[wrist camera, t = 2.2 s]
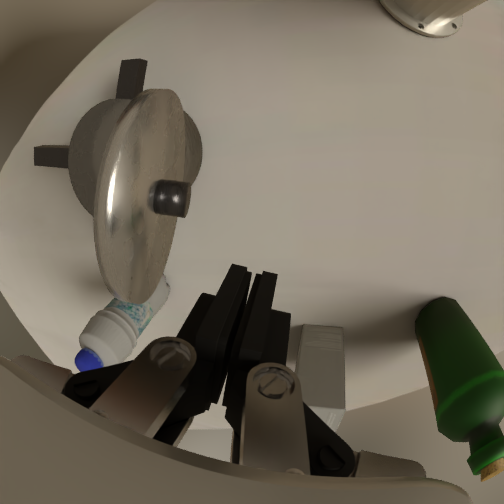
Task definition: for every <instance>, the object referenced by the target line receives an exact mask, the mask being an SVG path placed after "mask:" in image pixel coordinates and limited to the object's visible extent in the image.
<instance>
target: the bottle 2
mask: <svg viewBox="0 0 504 504" xmlns="http://www.w3.org/2000/svg"><path fill="white" fill-rule="evenodd" d="M415 333H416V336H417V340H418V343H419V347H420V350H421V354H422V358H423V361H424V365H425V369H426V373H427V377H428V381H429V386H430V390H431V395H432V400H433V404H434V410H435V415H436V421H437V427H438V431H439V432H440V433H442V434H443V435H445V436H446V437H447V438H449V439H450V440H452V441H453V442H469V445H470V453H471V456H470V457H469V458H468V459H467V462H468V464H469V466H470V468H471V470H472V472H473V475H479V474H481V482H482V481H485V480H488V479H490V478H492V477H494V476H495V475H497V474H499V473H500V472H502V471H503V470H504V435H503V433H502V431H501V429H500V427H499V423H500V422H501V420H502V418H503V417H504V370H503V368H502V367H501V365H500V364H499V362H498V361H497V359H496V357H495V355H494V354H493V352H492V351H491V349H490V348H489V346H488V345H487V343H486V342H485V340H484V339H483V337H482V336H481V334H480V333H479V331H478V330H477V328H476V327H475V326H474V324H473V323H472V321H471V320H470V319H469V317H468V316H467V315H466V313H465V312H464V311H463V309H462V308H461V307H460V305H459V304H458V303H457V301H456V300H454V299H450V298H446V297H445V298H442V299H439V300H435V301H433V302H431V303H430V304H429V305H428V306H427V307H425V308H424V309H423V310H422V311H421V313H420V314H419V316H418V318H417V320H416V321H415Z"/></svg>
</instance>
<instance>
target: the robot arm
mask: <svg viewBox="0 0 504 504" xmlns="http://www.w3.org/2000/svg"><path fill="white" fill-rule="evenodd" d="M379 1H380V2H381V4H382V5H383V6H384V8H385V9H386V10H387V11H388V12H389V13H390V14H391V15H392V16H393V17H394V18H395V19H396V20H398V21H399V22H400V23H401V24H403V25H404V26H406V27H408V28H409V29H411V30H413V31H415V32H417V33H419V34H422V35H425V36H428V37H434V38H444V37H448V36H451V35H453V34H455V33H456V32H457V31H458V30H459V29H460V27H461V26H462V22H463V14H464V13H466V12H467V11H469V10H471V9H473V8H474V7H476V6H478V5H480V4H482V3H483V2H485V1H487V0H379ZM251 275H252V272H248V271H247V267H244V266H240V265H235V264H232V265H231V267H230V269H229V271H228V273H227V275H226V277H225V279H224V281H223V283H222V285H221V287H220V289H219V291H218V292H217V294H216V296H215V295H211V294H207V293H202V294H201V295H200V297H199V299H198V300H197V302H196V304H195V305H194V307H193V309H192V310H191V312H190V314H189V316H188V317H187V319H186V321H185V322H184V324H183V326H182V328H181V329H180V331H179V333H178V335H177V336H176V337H161V338H158V339H156V340H153V341H152V342H151V343H150V344H148V345H147V346H146V348H145V349H144V350H143V351H142V352H141V353H140V354H139V355H138V356H137V357H136V358H135V359H134V360H131V361H127V362H123V363H119V364H115V365H110V366H106V367H101V368H97V369H92V370H87V371H83V372H80V373H77V374H73V373H72V371H71V370H69V369H66V368H62V367H59V366H56V365H52V364H50V363H47V362H44V361H41V360H38V359H35V358H32V357H30V356H25V355H20V356H17V357H15V358H13V359H12V360H11V361H10V360H8V359H6V358H5V357H3V356H1V355H0V504H473V502H472V500H471V498H470V496H469V495H468V493H467V492H466V491H465V490H464V489H462V488H461V487H459V486H457V485H454V484H452V483H449V482H445V481H442V480H437V479H432V478H426V471H425V469H424V468H423V466H422V465H421V464H420V463H418V462H416V461H413V460H408V459H403V458H397V457H392V456H387V455H382V454H377V453H373V452H369V451H364V450H361V451H360V452H356V451H353V450H352V449H351V448H350V447H349V445H348V444H347V443H346V442H344V440H342V439H341V438H340V437H339V436H338V435H337V434H336V433H335V432H334V431H333V430H332V429H331V428H330V427H329V426H328V425H327V424H326V423H325V422H324V421H323V420H322V419H321V418H320V417H318V416H317V415H316V414H315V413H314V412H313V411H312V410H311V409H310V408H309V407H308V406H307V405H306V404H305V403H304V402H303V399H302V391H301V384H300V381H299V378H298V376H297V375H296V374H295V372H293V371H292V370H291V369H290V368H288V367H286V358H287V349H288V340H289V330H290V320H291V313H286V312H282V311H277V310H273V309H271V307H272V302H273V297H274V291H275V286H276V281H277V276H278V274H274V273H270V272H266V271H263V273H262V275H261V274H257V273H256V276H255V279H254V282H253V285H252V288H251V291H250V294H249V298H248V301H247V296H248V291H249V286H250V281H251ZM246 301H247V304H246ZM227 373H228V374H227ZM226 376H227V380H226V385H225V391H224V397H223V402H222V406H226V407H227V409H226V414H225V419H226V420H227V421H228V423H229V424H230V425H231V427H232V428H233V432H232V443H231V457H230V462H225V461H221V460H217V459H213V458H210V457H206V456H202V455H199V454H196V453H192V452H189V451H186V450H183V449H180V448H177V446H178V444H179V443H180V441H181V439H182V438H183V436H184V434H185V433H186V431H187V430H188V428H189V426H190V425H191V423H192V422H193V419H194V416H196V415H198V414H201V413H204V412H205V410H208V411H209V408H210V405H211V403H215V404H217V403H218V400H219V397H220V394H221V391H222V388H223V385H224V382H225V379H226Z"/></svg>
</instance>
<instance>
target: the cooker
mask: <svg viewBox="0 0 504 504" xmlns="http://www.w3.org/2000/svg"><path fill="white" fill-rule="evenodd" d="M146 67H147V61H146V60H143V59H130V60H122V61H121V67H120V73H119V79H118V86H117V93H116V99H110V100H107V101H103V102H101V103H99V104H97V105H96V106H94V107H93V108H91V109H90V110H89V111H88V112H87V113H86V114H85V115H84V116H83V117H82V119H81V120H80V122H79V123H78V125H77V127H76V129H75V131H74V133H73V136H72V138H71V142H70V146H68V145H42V146H38V147H34V165H35V166H47V167H58V168H69V175H70V179H71V183H72V186H73V189H74V191H75V194H76V196H77V198H78V199H79V201H80V203H81V204H82V205H83V207H84V208H85V209H86V210H87V211H88V212H89V213H90V214H91V215H92V216H93V217H94V201H95V192H96V185H97V179H98V174H99V170H100V165H101V161H102V157H103V154H104V151H105V148H106V145H107V142H108V140H109V137H110V135H111V133H112V131H113V128H114V126H115V124H116V122H117V121H118V119H119V117H120V115H121V114H122V112H123V111H124V109H125V108H126V107H127V105H128V104H129V103H130V102H131V101H132V100H133V99H134V98H135V97H136V96H137V95H138V94H140V93H141V92H143V85H144V79H145V73H146ZM183 113H184V120H185V164H184V175H183V182H190V183H191V186H192V184H193V183H194V181H195V179H196V177H197V175H198V173H199V170H200V167H201V162H202V142H201V137H200V134H199V131H198V129H197V127H196V125H195V123H194V122H193V120H192V119H191V117H190V116H189V115H188V114H187V113H186V112H185V111H183Z"/></svg>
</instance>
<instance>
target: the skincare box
mask: <svg viewBox="0 0 504 504" xmlns="http://www.w3.org/2000/svg"><path fill="white" fill-rule="evenodd" d="M295 374H296V375H297V376H298V378H299V381H300V384H301V391H302V399H303V402H304V403H305V404H306V405H307V406H308V407H309V408H310V409H311V410H312V411H313V412H314V413H315V414H316V415H317V416H318V417H320V418H321V419H322V420H323V421H324V422H325V423H326V424H327V425H328V426H329V427H330V428H331V429H332V430H333V431H334V432H336V430H337V428H338V426H339V424H340V422H341V420H342V418H343V415H344V413H345V410H346V409H345V360H344V336H343V328H342V327H328V326H317V325H303V328H302V334H301V340H300V345H299V350H298V356H297V362H296V368H295Z"/></svg>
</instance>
